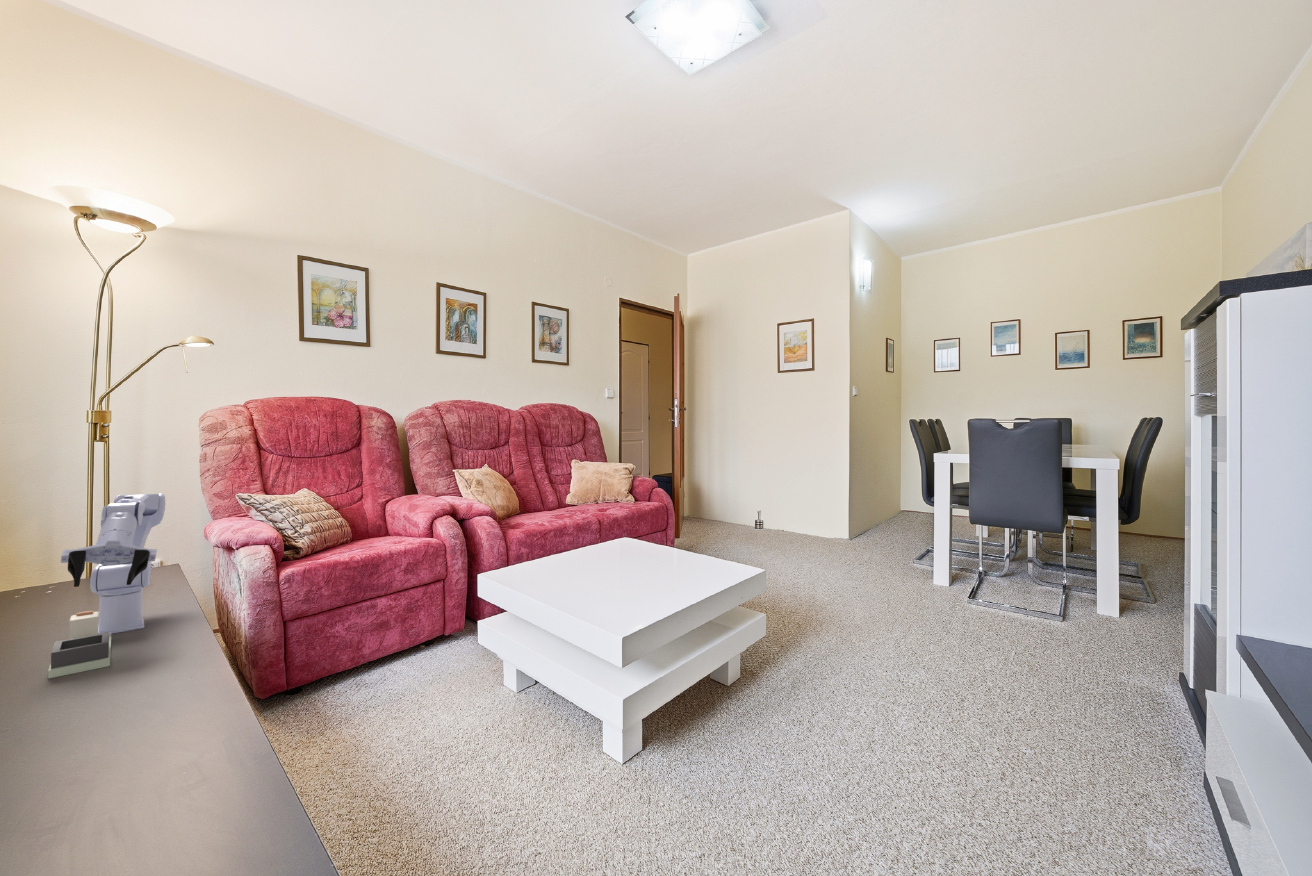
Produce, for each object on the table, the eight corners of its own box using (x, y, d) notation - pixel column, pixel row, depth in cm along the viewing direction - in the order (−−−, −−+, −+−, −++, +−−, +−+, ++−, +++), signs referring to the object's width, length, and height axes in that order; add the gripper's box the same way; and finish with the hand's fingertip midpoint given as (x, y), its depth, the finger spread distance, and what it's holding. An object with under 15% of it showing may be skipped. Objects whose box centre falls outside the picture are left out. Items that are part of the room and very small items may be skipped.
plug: (70, 643, 111) (71, 613, 111) (97, 638, 114) (98, 609, 114) (68, 649, 107) (69, 618, 108) (97, 644, 110) (98, 614, 110)
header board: (57, 650, 111) (57, 629, 111) (111, 640, 117) (111, 620, 117) (48, 678, 97) (48, 654, 97) (109, 665, 103) (110, 643, 103)
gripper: (70, 525, 112) (53, 569, 103) (161, 526, 122) (153, 566, 113) (67, 550, 115) (50, 595, 106) (157, 549, 124) (149, 590, 115)
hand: (103, 582), depth 109 cm, fingers open, 7 cm apart
